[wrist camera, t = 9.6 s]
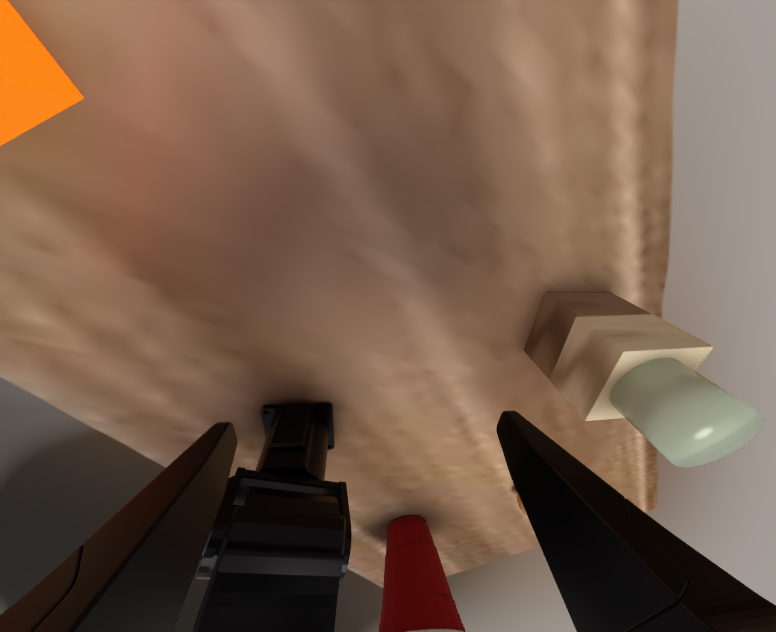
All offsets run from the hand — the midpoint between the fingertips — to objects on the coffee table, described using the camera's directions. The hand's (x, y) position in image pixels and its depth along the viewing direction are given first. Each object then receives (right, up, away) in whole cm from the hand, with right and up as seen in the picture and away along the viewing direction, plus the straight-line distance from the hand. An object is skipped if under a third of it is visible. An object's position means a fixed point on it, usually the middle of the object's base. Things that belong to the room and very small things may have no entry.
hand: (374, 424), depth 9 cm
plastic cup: (+3, -27, +31) cm, 42 cm away
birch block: (+17, +1, +12) cm, 21 cm away
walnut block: (+16, +3, +15) cm, 23 cm away
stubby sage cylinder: (+17, -1, +9) cm, 19 cm away
